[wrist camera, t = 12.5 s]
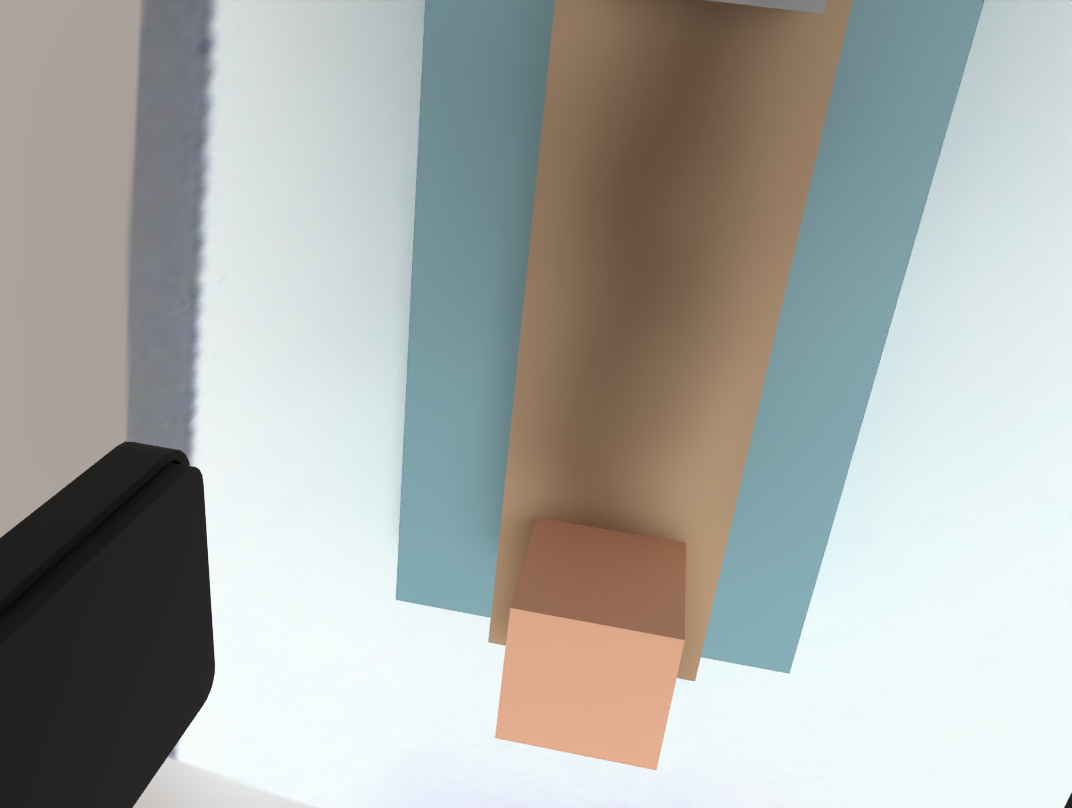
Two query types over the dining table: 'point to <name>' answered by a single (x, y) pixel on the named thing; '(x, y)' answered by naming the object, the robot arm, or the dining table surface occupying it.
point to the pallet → (659, 271)
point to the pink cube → (594, 643)
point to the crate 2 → (784, 4)
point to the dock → (801, 336)
